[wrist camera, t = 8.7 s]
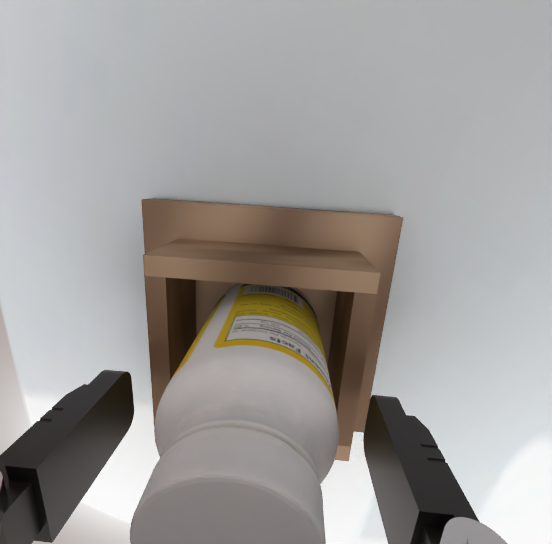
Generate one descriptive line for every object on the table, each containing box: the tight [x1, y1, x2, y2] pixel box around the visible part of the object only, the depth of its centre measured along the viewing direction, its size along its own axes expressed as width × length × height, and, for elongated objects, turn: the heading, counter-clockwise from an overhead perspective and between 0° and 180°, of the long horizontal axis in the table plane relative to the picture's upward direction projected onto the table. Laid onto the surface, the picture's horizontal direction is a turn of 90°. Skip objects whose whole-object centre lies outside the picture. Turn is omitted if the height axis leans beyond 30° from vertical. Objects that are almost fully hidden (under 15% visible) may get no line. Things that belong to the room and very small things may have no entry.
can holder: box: [142, 198, 403, 461], centre depth 14 cm, size 12×12×5 cm
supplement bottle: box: [130, 283, 339, 544], centre depth 11 cm, size 5×5×10 cm
